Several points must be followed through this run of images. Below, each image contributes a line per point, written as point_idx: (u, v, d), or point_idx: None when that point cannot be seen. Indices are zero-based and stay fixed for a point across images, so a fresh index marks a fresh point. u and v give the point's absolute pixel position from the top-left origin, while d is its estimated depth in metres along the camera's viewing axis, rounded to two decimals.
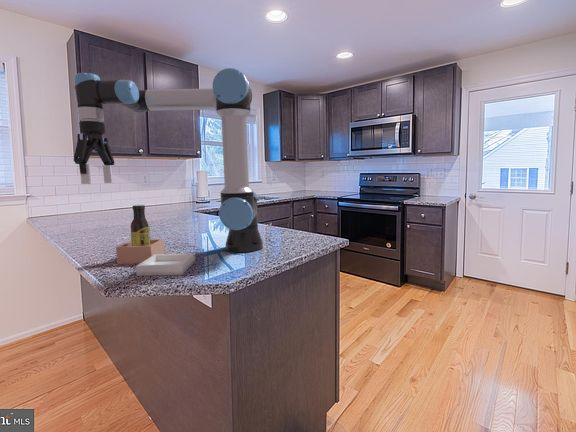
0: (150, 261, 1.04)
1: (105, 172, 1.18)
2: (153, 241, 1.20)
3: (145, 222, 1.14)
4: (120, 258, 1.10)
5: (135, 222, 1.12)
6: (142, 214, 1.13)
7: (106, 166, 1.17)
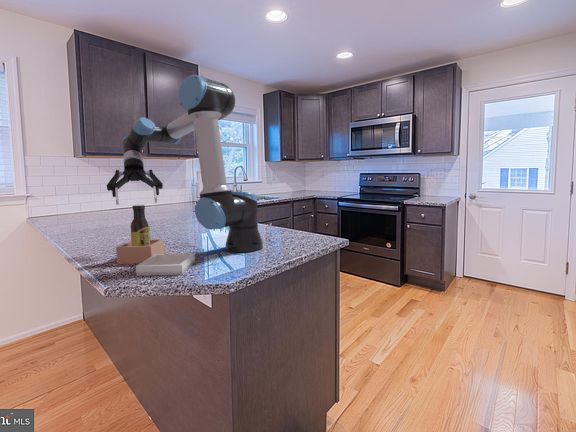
0: (150, 261, 1.04)
1: None
2: (153, 241, 1.20)
3: (145, 222, 1.14)
4: (120, 258, 1.10)
5: (135, 222, 1.12)
6: (142, 214, 1.13)
7: (153, 189, 1.29)
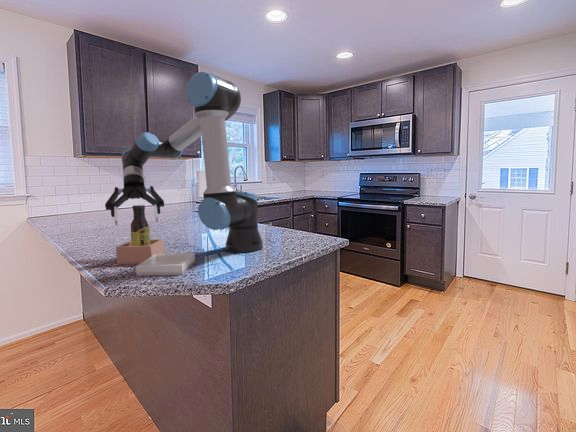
0: (150, 261, 1.04)
1: None
2: (153, 241, 1.20)
3: (145, 222, 1.14)
4: (120, 258, 1.10)
5: (135, 222, 1.12)
6: (142, 214, 1.13)
7: (154, 207, 1.22)
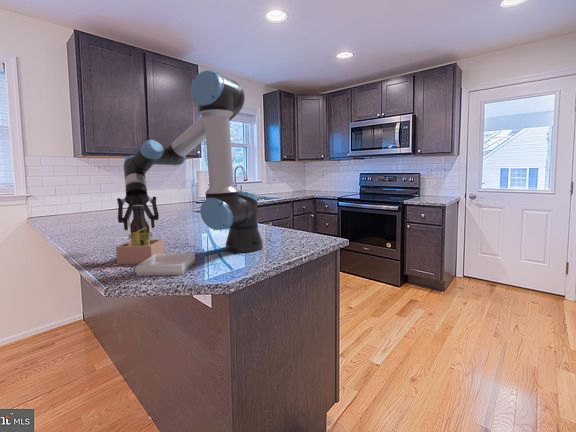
0: (150, 261, 1.04)
1: None
2: (153, 241, 1.20)
3: (145, 222, 1.14)
4: (120, 258, 1.10)
5: (134, 222, 1.12)
6: (142, 214, 1.13)
7: (148, 221, 1.16)
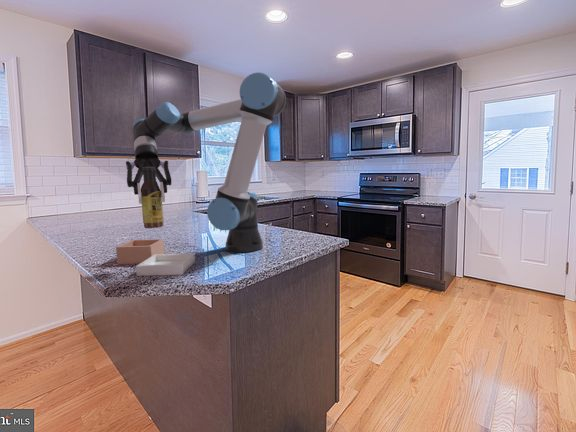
0: (150, 261, 1.04)
1: (161, 192, 1.04)
2: (153, 241, 1.20)
3: (156, 186, 1.03)
4: (120, 258, 1.10)
5: (145, 185, 1.01)
6: (153, 177, 1.02)
7: (160, 185, 1.05)
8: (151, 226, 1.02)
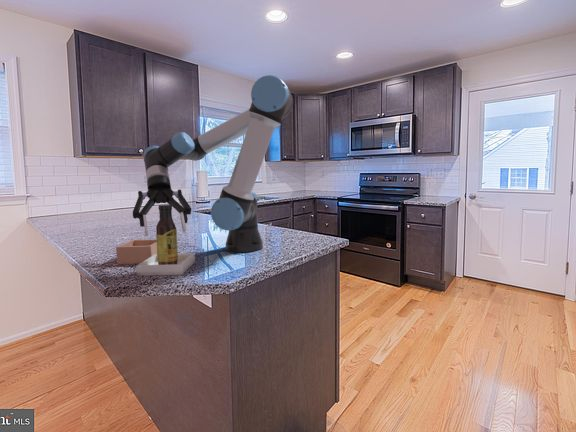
0: (150, 261, 1.04)
1: (181, 222, 1.04)
2: (153, 241, 1.20)
3: (172, 224, 1.01)
4: (120, 258, 1.10)
5: (161, 223, 1.00)
6: (169, 215, 1.01)
7: (180, 215, 1.05)
8: None
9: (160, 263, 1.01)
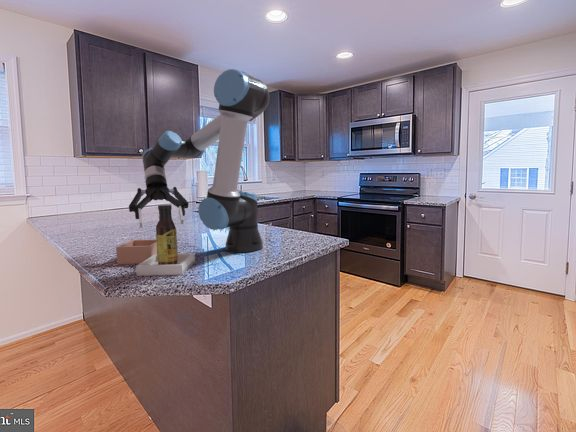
0: (150, 261, 1.04)
1: (179, 215, 1.17)
2: (153, 241, 1.20)
3: (172, 224, 1.01)
4: (120, 258, 1.10)
5: (161, 224, 0.99)
6: (169, 215, 1.01)
7: None
8: None
9: (160, 263, 1.01)
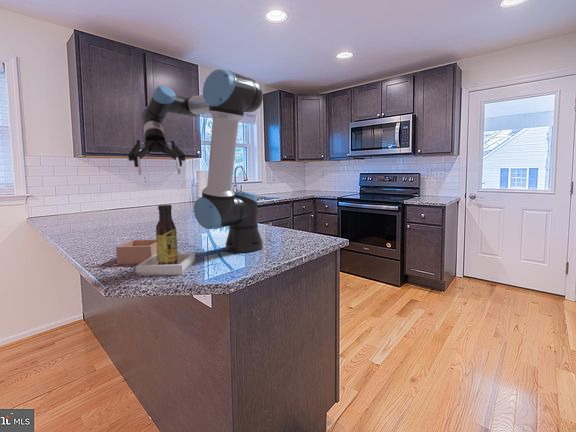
0: (150, 261, 1.04)
1: (176, 165, 1.22)
2: (153, 241, 1.20)
3: (172, 224, 1.01)
4: (120, 258, 1.10)
5: (161, 224, 0.99)
6: (169, 215, 1.01)
7: (176, 160, 1.23)
8: None
9: (160, 263, 1.01)
